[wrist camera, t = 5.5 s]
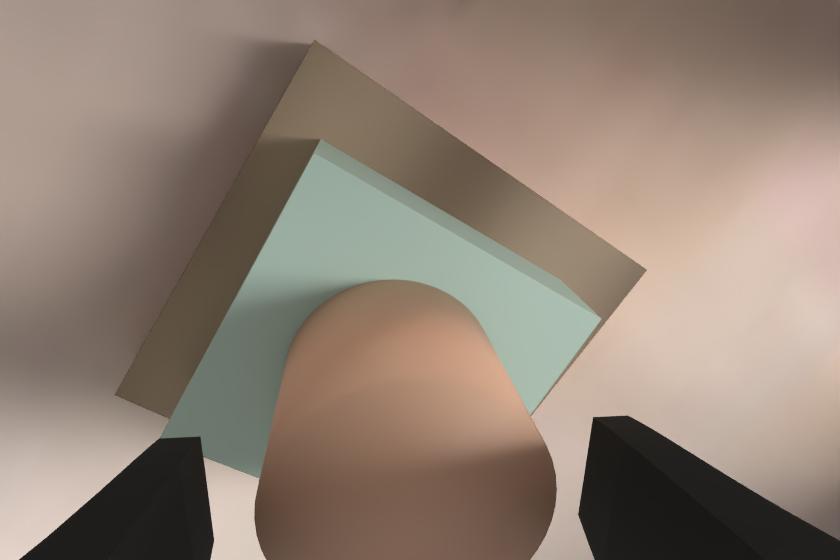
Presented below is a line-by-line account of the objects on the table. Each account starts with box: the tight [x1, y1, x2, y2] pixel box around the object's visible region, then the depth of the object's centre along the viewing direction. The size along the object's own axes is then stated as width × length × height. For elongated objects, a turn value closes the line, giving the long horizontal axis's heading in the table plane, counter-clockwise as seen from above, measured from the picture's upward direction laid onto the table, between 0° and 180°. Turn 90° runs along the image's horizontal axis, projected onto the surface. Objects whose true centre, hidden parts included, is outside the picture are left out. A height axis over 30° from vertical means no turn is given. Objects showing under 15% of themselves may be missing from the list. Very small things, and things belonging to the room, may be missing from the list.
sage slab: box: [160, 139, 601, 478], centre depth 13 cm, size 7×7×2 cm
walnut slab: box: [115, 40, 646, 419], centre depth 15 cm, size 10×10×2 cm
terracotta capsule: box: [255, 279, 557, 560], centre depth 10 cm, size 4×4×4 cm
